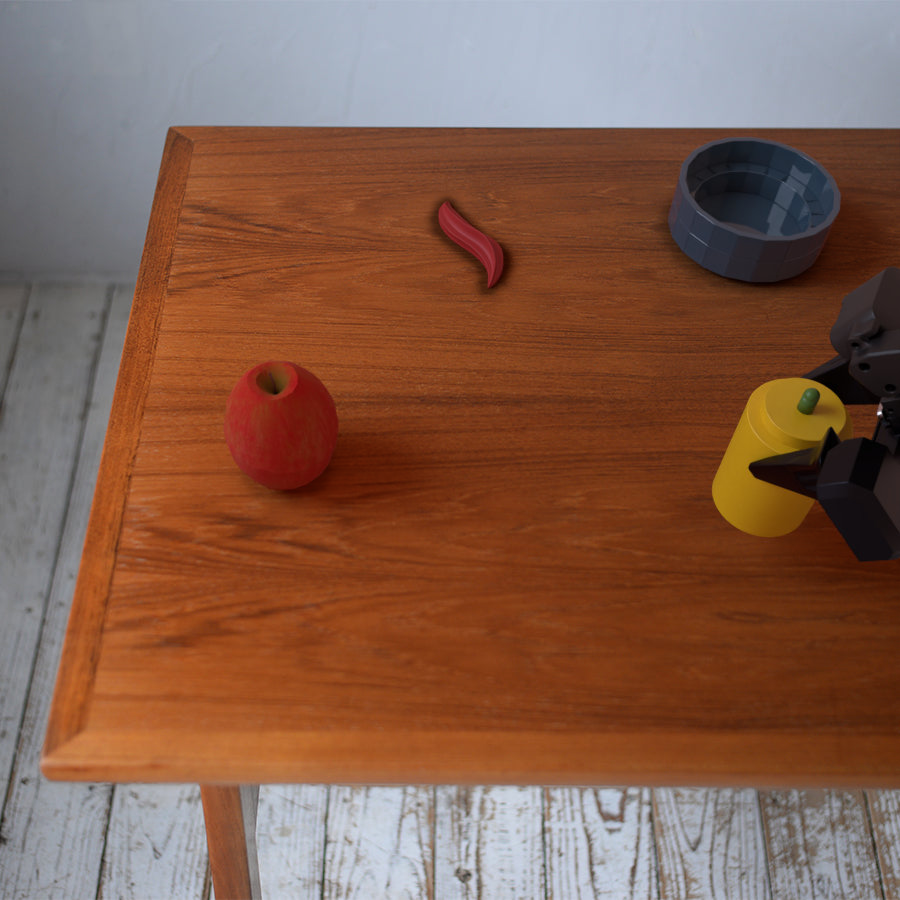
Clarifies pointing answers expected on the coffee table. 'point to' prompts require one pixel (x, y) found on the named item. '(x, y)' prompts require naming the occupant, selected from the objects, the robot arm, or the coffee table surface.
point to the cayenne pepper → (472, 241)
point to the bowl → (753, 209)
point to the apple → (281, 425)
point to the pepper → (775, 453)
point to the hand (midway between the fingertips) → (767, 432)
